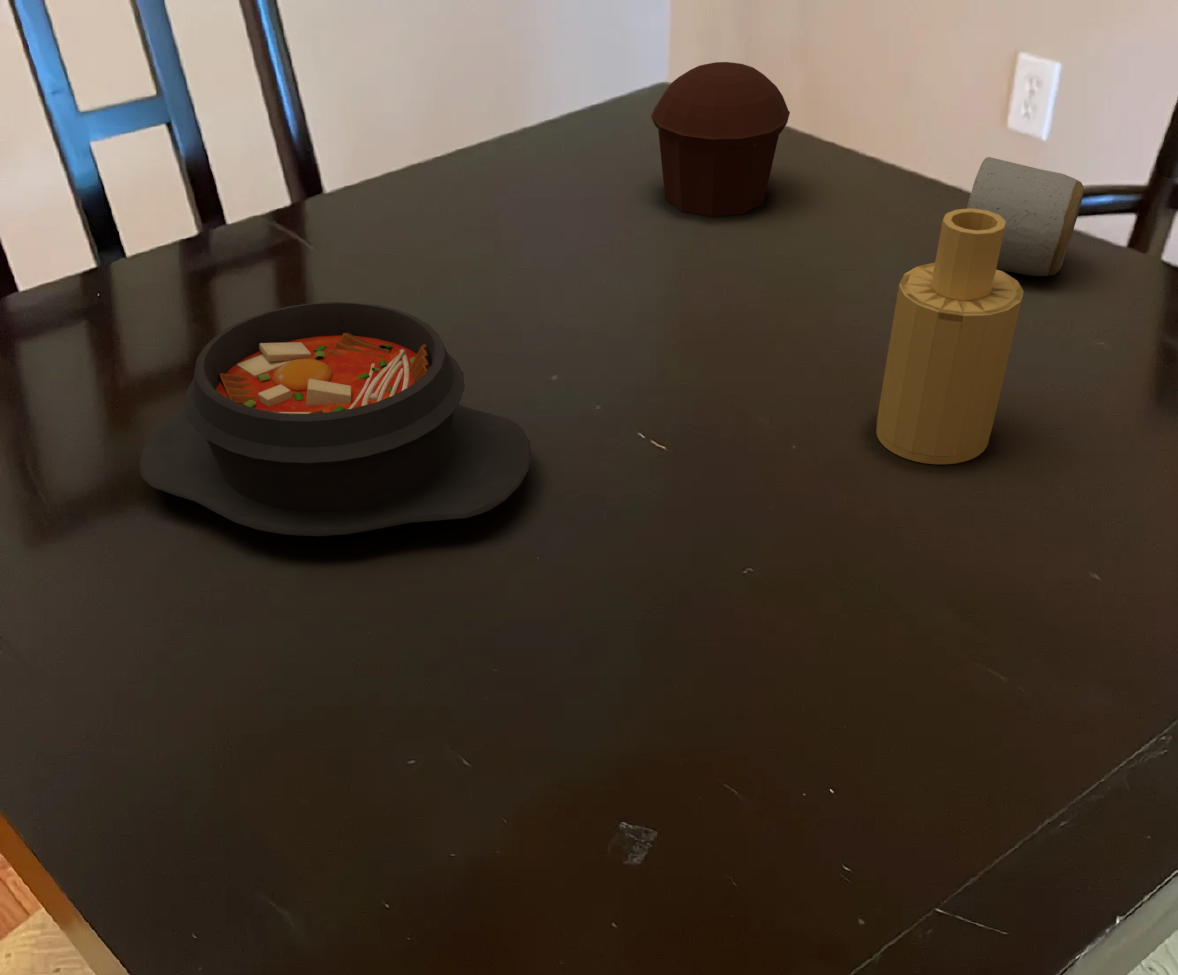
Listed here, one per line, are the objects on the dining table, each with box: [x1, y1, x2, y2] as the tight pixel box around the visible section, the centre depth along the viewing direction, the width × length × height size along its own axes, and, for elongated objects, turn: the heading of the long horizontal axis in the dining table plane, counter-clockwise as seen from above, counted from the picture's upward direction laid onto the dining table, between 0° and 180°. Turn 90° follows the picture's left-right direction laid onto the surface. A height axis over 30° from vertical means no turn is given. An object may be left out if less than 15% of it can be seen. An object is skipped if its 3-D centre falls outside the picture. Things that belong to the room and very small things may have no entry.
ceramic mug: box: [966, 156, 1085, 277], centre depth 105 cm, size 11×8×8 cm
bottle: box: [875, 208, 1024, 465], centre depth 84 cm, size 7×7×14 cm
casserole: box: [138, 301, 532, 537], centre depth 83 cm, size 25×19×8 cm
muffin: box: [650, 61, 791, 218], centre depth 114 cm, size 12×11×10 cm
